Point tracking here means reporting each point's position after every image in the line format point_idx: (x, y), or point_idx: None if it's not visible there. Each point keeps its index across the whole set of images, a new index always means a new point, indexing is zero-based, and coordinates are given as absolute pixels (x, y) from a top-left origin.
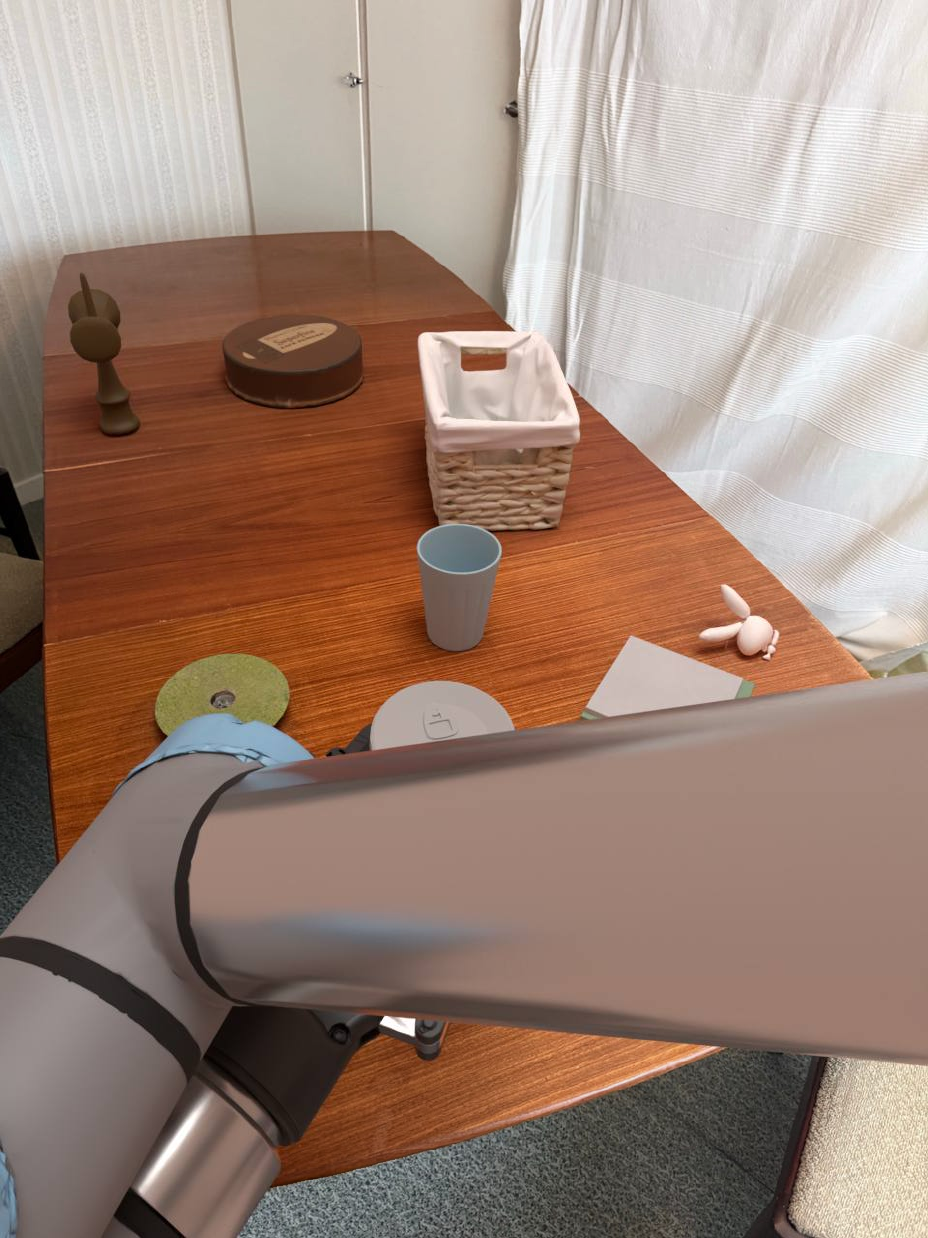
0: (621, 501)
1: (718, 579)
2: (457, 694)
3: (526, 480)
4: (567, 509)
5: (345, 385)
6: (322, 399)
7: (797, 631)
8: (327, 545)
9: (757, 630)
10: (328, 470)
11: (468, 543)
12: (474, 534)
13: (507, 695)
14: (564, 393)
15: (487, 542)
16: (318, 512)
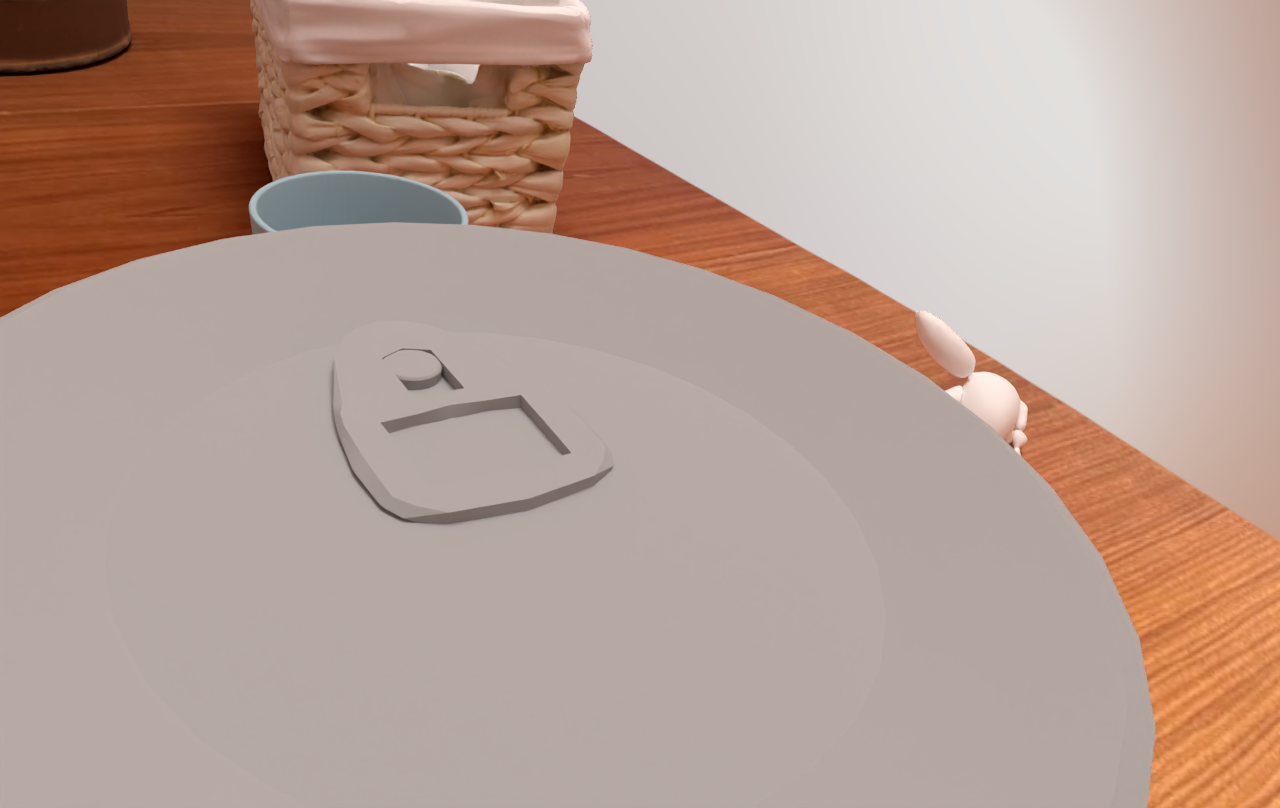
0: (653, 221)
1: (867, 333)
2: (535, 283)
3: (484, 145)
4: (557, 231)
5: (90, 40)
6: (39, 60)
7: (1039, 409)
8: (28, 287)
9: (998, 396)
10: (43, 165)
11: (379, 221)
12: (393, 196)
13: None
14: None
15: (427, 211)
16: (11, 230)
